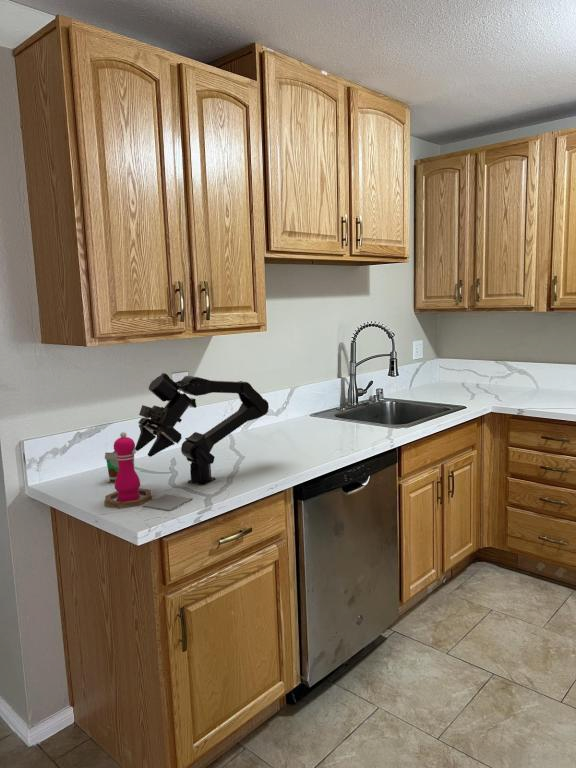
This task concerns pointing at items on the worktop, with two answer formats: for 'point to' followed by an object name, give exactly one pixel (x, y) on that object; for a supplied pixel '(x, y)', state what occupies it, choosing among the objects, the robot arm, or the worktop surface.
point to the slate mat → (167, 502)
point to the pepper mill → (126, 470)
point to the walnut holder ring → (128, 503)
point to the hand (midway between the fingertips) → (142, 453)
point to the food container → (113, 464)
